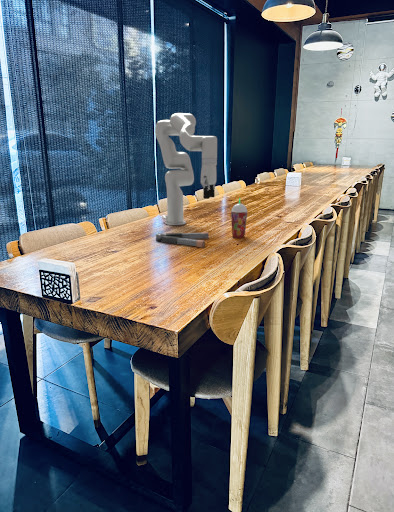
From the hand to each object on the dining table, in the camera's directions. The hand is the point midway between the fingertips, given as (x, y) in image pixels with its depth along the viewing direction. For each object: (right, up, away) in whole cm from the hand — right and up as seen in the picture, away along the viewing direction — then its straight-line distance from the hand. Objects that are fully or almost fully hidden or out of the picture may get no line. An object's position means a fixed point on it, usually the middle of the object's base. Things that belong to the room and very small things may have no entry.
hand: (209, 197), depth 194 cm
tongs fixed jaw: (-13, -25, -15) cm, 32 cm away
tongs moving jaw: (-13, -22, -5) cm, 26 cm away
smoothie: (+15, -20, +1) cm, 25 cm away
